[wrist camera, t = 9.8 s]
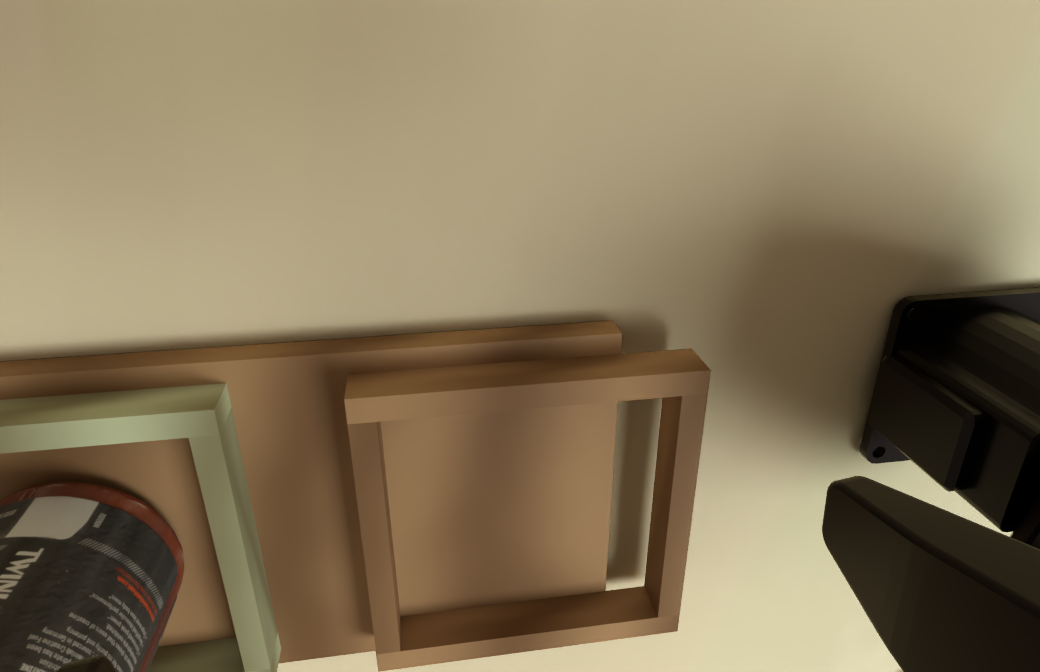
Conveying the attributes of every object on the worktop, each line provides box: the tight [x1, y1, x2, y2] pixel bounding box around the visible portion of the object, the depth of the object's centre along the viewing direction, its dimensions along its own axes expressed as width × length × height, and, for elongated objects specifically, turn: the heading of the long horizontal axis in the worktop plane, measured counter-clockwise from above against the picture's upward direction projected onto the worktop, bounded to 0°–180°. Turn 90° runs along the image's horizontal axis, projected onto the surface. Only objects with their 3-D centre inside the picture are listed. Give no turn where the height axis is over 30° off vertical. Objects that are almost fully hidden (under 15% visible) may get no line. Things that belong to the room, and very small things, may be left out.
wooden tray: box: [0, 321, 711, 672], centre depth 22 cm, size 25×12×2 cm, turn 90°
